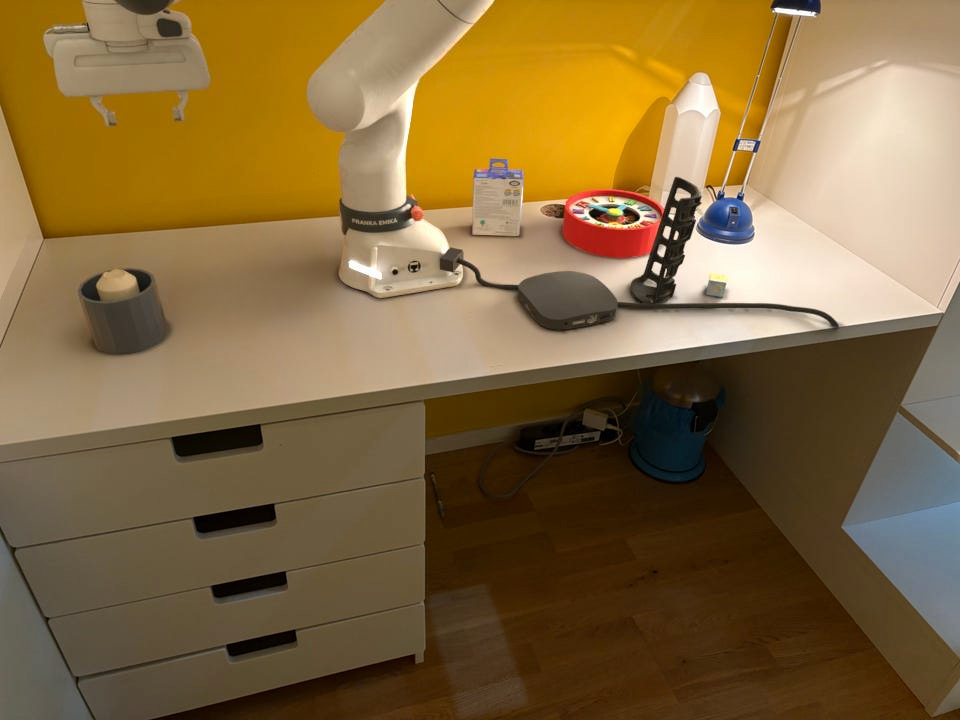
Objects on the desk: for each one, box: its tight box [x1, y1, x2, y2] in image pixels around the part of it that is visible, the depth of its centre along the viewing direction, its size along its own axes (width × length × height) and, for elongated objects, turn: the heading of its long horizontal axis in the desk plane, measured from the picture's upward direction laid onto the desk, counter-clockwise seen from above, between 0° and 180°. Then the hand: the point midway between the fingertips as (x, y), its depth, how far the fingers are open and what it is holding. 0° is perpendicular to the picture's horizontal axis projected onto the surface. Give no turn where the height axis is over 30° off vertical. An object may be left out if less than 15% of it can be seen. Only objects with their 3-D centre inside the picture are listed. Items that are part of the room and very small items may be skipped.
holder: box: [629, 176, 703, 304], centre depth 124 cm, size 11×8×20 cm
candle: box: [96, 268, 140, 302], centre depth 111 cm, size 6×6×10 cm
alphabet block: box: [705, 272, 729, 298], centre depth 129 cm, size 3×3×3 cm
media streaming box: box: [517, 270, 619, 331], centre depth 124 cm, size 15×15×3 cm
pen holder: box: [77, 267, 168, 355], centre depth 111 cm, size 11×11×9 cm
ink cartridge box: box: [471, 158, 524, 237], centre depth 145 cm, size 10×6×14 cm, turn 89°
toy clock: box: [561, 188, 665, 259], centre depth 147 cm, size 20×6×20 cm
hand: (146, 122), depth 108 cm, fingers open, 8 cm apart
